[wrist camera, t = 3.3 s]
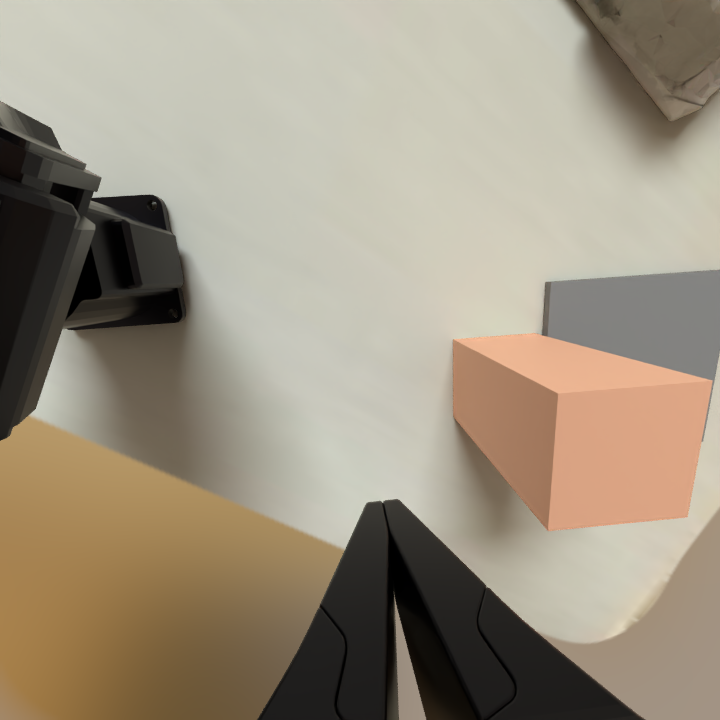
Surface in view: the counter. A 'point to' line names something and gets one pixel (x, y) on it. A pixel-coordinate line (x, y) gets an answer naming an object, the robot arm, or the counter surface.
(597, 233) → the counter surface
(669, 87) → the packaged product
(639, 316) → the gray square plate
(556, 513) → the terracotta block
